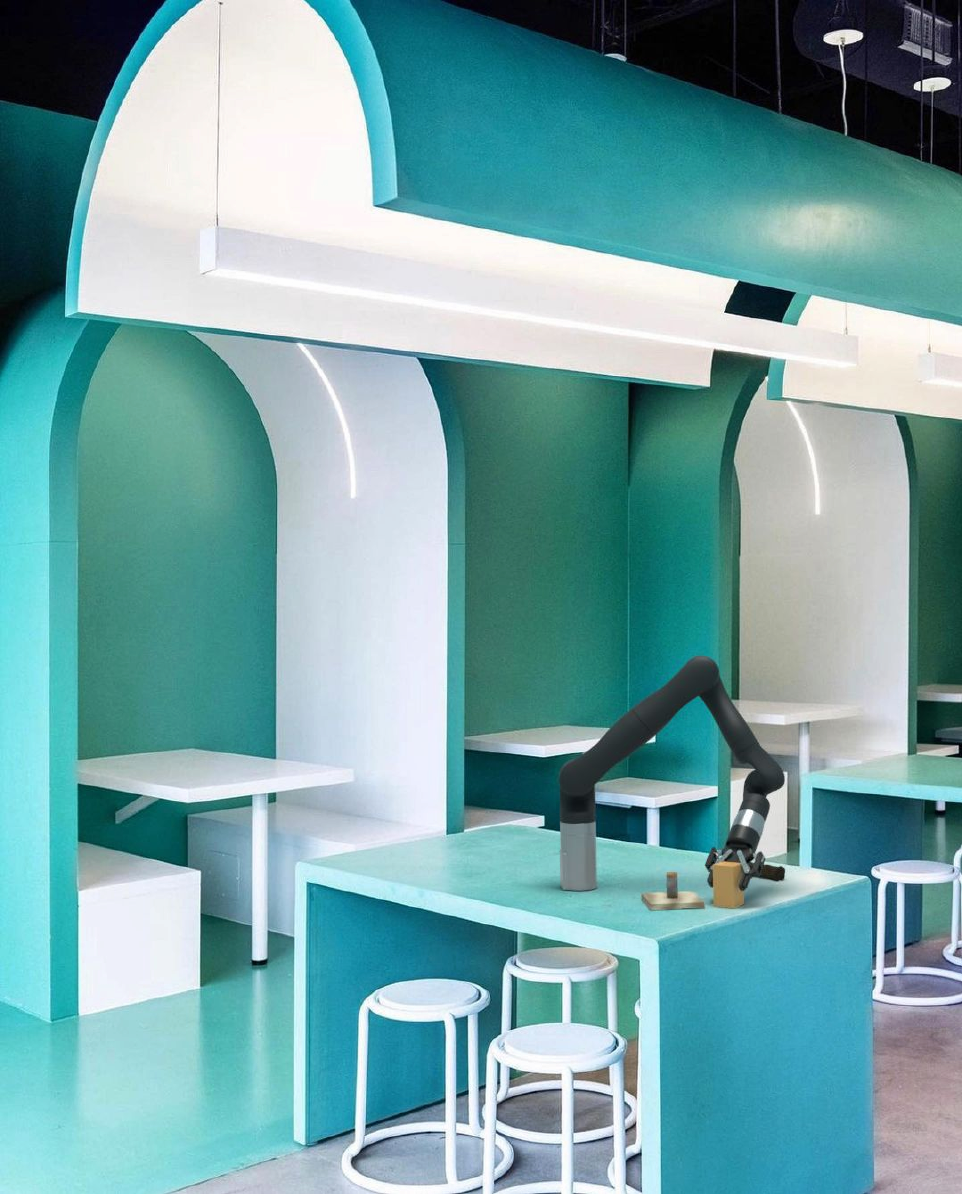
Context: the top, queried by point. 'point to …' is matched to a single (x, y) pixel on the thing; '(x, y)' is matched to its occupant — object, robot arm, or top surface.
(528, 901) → the top surface
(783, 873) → the hand tool
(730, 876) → the tall orange pillar
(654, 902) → the post board
